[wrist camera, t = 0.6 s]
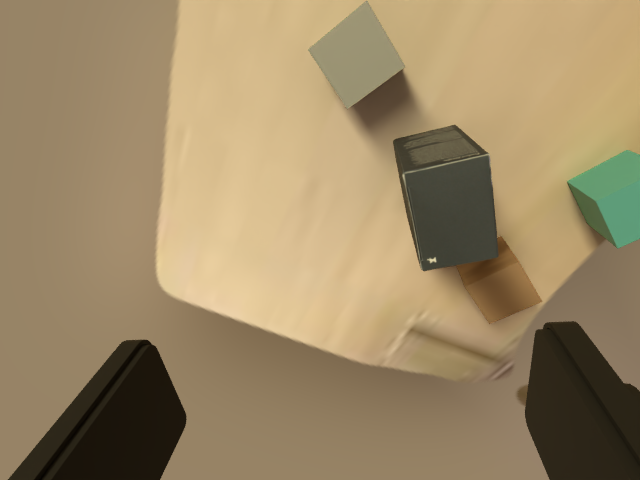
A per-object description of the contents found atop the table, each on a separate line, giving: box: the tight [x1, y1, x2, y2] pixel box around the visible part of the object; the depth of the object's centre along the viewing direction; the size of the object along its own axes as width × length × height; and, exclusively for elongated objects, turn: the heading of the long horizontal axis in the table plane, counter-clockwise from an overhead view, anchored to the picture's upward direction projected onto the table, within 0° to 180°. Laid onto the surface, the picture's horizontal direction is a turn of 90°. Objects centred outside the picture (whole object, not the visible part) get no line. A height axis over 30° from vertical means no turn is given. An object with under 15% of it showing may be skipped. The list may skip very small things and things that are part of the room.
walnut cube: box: [456, 236, 542, 324], centre depth 37 cm, size 5×5×5 cm
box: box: [393, 125, 499, 271], centre depth 30 cm, size 8×6×11 cm
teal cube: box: [567, 150, 640, 248], centre depth 32 cm, size 5×5×5 cm
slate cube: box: [308, 1, 405, 109], centre depth 29 cm, size 5×5×5 cm
